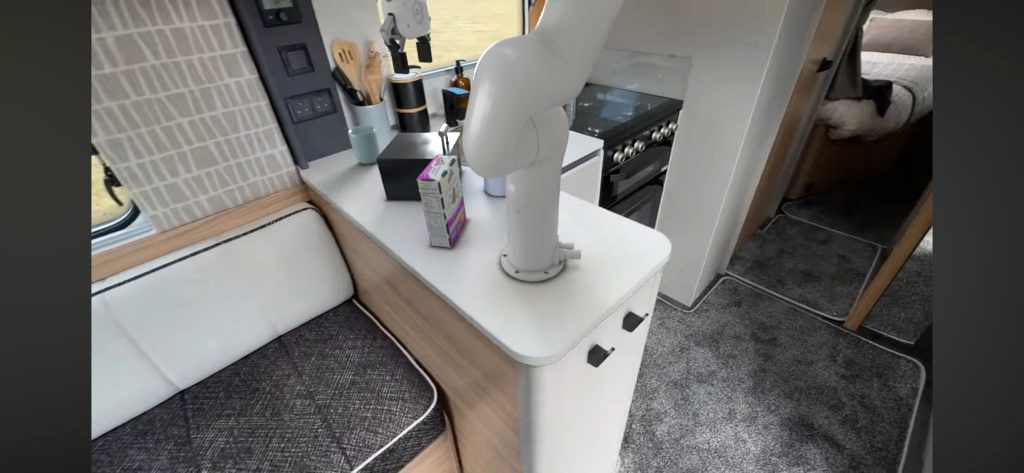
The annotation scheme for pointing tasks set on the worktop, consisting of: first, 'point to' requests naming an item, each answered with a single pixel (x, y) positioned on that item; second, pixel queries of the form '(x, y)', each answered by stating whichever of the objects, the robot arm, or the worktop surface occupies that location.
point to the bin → (406, 177)
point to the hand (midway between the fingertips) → (414, 67)
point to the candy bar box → (442, 200)
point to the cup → (364, 143)
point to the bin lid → (419, 146)
